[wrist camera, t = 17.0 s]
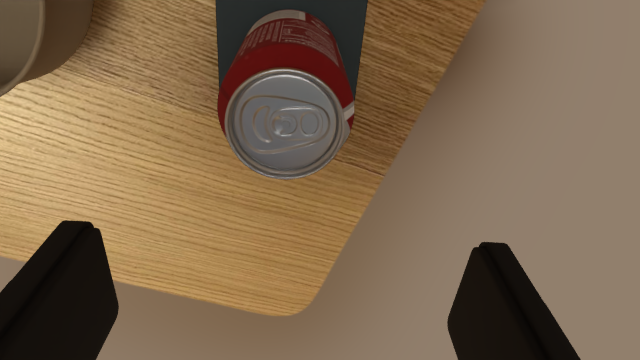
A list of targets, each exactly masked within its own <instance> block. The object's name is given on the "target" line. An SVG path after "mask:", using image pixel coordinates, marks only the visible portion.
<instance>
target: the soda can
mask: <svg viewBox="0 0 640 360" xmlns="http://www.w3.org/2000/svg"><path fill="white" fill-rule="evenodd" d="M217 109H218V117H219V122H220V125H221V128H222V131H223V133H224V135H225V137H226V139H227V140H228V142H229V144H230V147H231V148H232V150H233V152H234V153H235V155H236V156H237V157H238V158H239V159H240V160H241V161H242V162H243V163H244V164H245V165H246V166H247V167H249V168H250V169H252V170H253V171H255V172H257V173H259V174H261V175H264V176H267V177H270V178H275V179H287V180H289V179H298V178H302V177H306V176H309V175H311V174H313V173H315V172H317V171H319V170H321V169H322V168H324V167H325V166H326V165H327V164H328V163H329V162H330V161H331V160H332V159H333V158H334V157H335V155H336V154H337V152H338V151H339V149H340V148H341V147H342V146H343V144H344V143H345V141H346V139H347V137H348V136H349V133H350V131H351V128H352V124H353V119H354V99H353V95H352V91H351V87H350V84H349V81H348V78H347V75H346V71H345V68H344V65H343V62H342V58H341V55H340V52H339V49H338V46H337V43H336V40H335V38H334V36H333V34H332V33H331V31H330V30H329V28H328V27H327V26H326V25H325V24H324V23H323V22H322V21H321V20H319V19H318V18H317V17H315V16H313V15H311V14H309V13H307V12H304V11H300V10H295V9H283V10H278V11H274V12H272V13H269V14H267V15H265V16H264V17H262V18H261V19H259V20H258V21H257V22H256V23H255V24H254V25H253V26H252V27H251V29H250V30H249V32H248V33H247V35H246V37H245V39H244V41H243V43H242V45H241V47H240V49H239V50H238V52H237V54H236V56H235V58H234V60H233V62H232V64H231V66H230V68H229V70H228V72H227V74H226V75H225V77H224V80H223V82H222V84H221V87H220V90H219V95H218V107H217Z"/></svg>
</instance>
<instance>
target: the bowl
mask: <svg viewBox="0 0 640 360" xmlns="http://www.w3.org/2000/svg"><path fill="white" fill-rule="evenodd" d="M92 11H93V0H0V97H1V96H2V95H4V94H6V93H7V92H9V91H10V90H11V89H13V88H14V87H15V86H16V85H17V84H20V83H22V82H25V81H29V80H32V79H35V78H38V77H41V76H43V75H45V74H47V73H50V72H52V71H53V70H55V69H57V68H58V67H60V66H61V65H62V64H64V63H65V62H66V61H67V60H68V59H69V58H70V57H71V56H72V55H73V54H74V53H75V52H76V50H77V49H78V48H79V46H80V45H81V43H82V41H83V40H84V38H85V36H86V33H87V31H88V28H89V25H90V21H91V17H92Z"/></svg>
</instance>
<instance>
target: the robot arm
mask: <svg viewBox="0 0 640 360" xmlns="http://www.w3.org/2000/svg"><path fill="white" fill-rule="evenodd" d="M118 307H119V306H118V300H117V297H116V293H115V288H114V284H113V280H112V276H111V272H110V268H109V264H108V260H107V256H106V252H105V248H104V243H103V239H102V235H101V232H100V230H99V229H98V228H94V226H93V224H92V223H91V222H86V221H67V220H65V221H62V222H61V223H60V224H59V225H58V226H57V227H56V229H55V230H54V231H53V232H52V233H51V234H50V236H49V237H48V238H47V239H46V240H45V242H44V243H43V244H42V245H41V246H40V247H39V249H38V250H37V251H36V252H35V253H34V254H33V256H32V257H31V258H30V259H29V260H28V262H27V263H26V264H25V265H24V266H23V267H22V269H21V270H20V271H19V272H18V273H17V274H16V276H15V277H14V278H13V279H12V280H11V281H10V282H9V283H8V284H7V285H6V287H5V288H4V289H3V290H2V291H1V292H0V360H96V358H97V356H98V354H99V352H100V350H101V348H102V346H103V344H104V342H105V340H106V338H107V336H108V334H109V332H110V330H111V328H112V326H113V324H114V322H115V320H116V318H117V315H118ZM448 331H449V334H450V337H451V340H452V343H453V346H454V349H455V352H456V354H457V357H458V360H580V358H579V357H578V355H577V353H576V352H575V350H574V348H573V347H572V345H571V344H570V342H569V340H568V339H567V337H566V336H565V334H564V333H563V331H562V329H561V328H560V326H559V325H558V323H557V322H556V320H555V318H554V317H553V315H552V314H551V312H550V310H549V309H548V307H547V306H546V304H545V303H544V302H543V300H542V299H541V297H540V295H539V294H538V292H537V291H536V289H535V287H534V286H533V284H532V283H531V281H530V279H529V278H528V276H527V275H526V273H525V272H524V270H523V268H522V267H521V265H520V264H519V262H518V260H517V259H516V257H515V256H514V254H513V252H512V251H511V249H510V248H509V246H508V245H507V244H505V243H493V242H482V243H481V244H480V245H479V247H475V248H473V250H472V252H471V255H470V257H469V260H468V263H467V266H466V269H465V271H464V274H463V277H462V280H461V283H460V286H459V288H458V291H457V294H456V297H455V300H454V302H453V305H452V308H451V311H450V314H449V316H448Z"/></svg>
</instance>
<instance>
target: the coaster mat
mask: <svg viewBox="0 0 640 360" xmlns="http://www.w3.org/2000/svg"><path fill="white" fill-rule="evenodd" d="M367 2H368V0H216V21H217V44H218V67H219V90H220V87H221V84H222V82H223V80H224V77H225V75H226V74H227V72H228V70H229V68H230V66H231V64H232V62H233V60H234V58H235V56H236V54H237V52H238V50H239V49H240V47H241V45H242V43H243V41H244V39H245V37H246V35H247V33H248V32H249V30H250V29H251V27H252V26H253V25H254V24H255V23H256V22H257V21H258V20H259V19H261V18H262V17H264V16H265V15H267V14H269V13H272V12H274V11H278V10H283V9H295V10H300V11H304V12H307V13H309V14H311V15H313V16H315V17H317V18H318V19H319V20H321V21H322V22H323V23H324V24H325V25H326V26H327V27H328V28H329V30H330V31H331V33H332V34H333V36H334V38H335V40H336V43H337V46H338V49H339V52H340V55H341V58H342V62H343V65H344V68H345V71H346V75H347V78H348V81H349V84H350V87H351V91H352V95H353V99H354V100H355V93H356V85H357V78H358V70H359V63H360V55H361V48H362V40H363V33H364V25H365V18H366V10H367Z"/></svg>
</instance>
